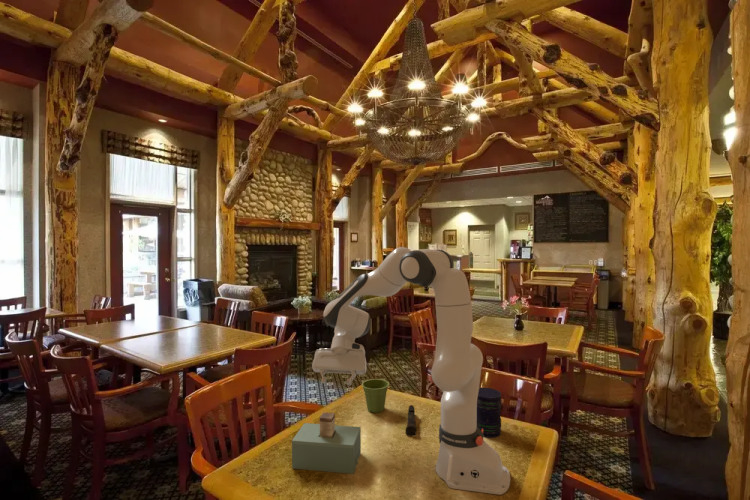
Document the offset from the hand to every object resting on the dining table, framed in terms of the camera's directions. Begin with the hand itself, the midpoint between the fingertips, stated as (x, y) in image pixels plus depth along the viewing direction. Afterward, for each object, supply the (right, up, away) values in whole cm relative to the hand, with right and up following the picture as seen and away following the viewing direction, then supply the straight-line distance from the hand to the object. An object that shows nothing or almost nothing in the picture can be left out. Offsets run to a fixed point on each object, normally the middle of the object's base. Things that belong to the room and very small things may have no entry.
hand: (336, 383), depth 139 cm
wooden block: (-2, -17, -11) cm, 20 cm away
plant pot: (+14, -21, +28) cm, 37 cm away
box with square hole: (-2, -22, -11) cm, 24 cm away
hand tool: (+28, -21, +14) cm, 38 cm away
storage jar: (+57, -21, +8) cm, 61 cm away
